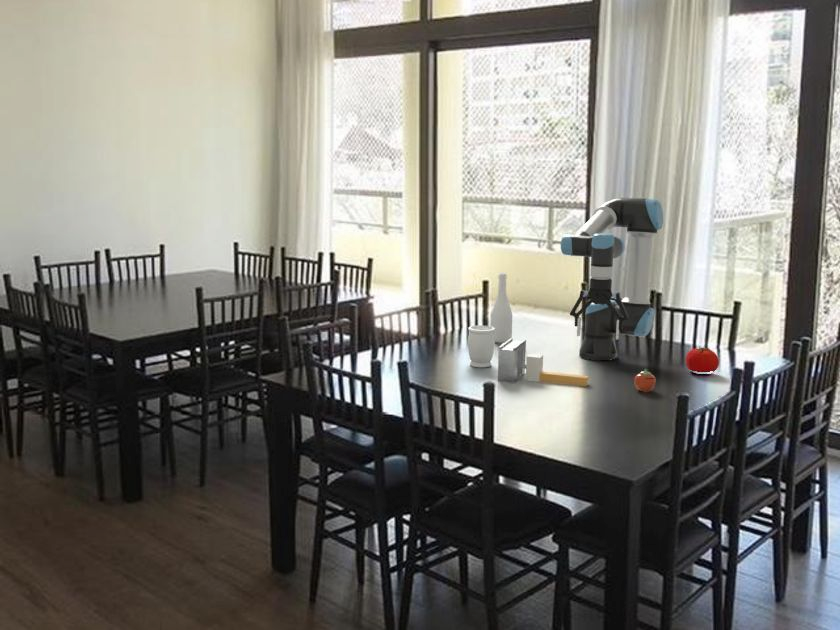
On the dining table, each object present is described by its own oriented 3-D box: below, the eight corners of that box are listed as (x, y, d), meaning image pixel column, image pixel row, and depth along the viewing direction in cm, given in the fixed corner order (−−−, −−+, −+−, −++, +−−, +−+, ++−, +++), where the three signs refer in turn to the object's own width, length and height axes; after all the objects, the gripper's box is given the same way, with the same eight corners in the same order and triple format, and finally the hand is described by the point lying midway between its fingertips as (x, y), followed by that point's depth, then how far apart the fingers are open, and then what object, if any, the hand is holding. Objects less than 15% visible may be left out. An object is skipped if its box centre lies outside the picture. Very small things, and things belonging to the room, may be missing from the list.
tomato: (692, 368, 340) (694, 342, 338) (723, 374, 331) (725, 348, 329) (677, 373, 332) (679, 346, 331) (708, 379, 324) (710, 352, 322)
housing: (524, 372, 330) (526, 339, 328) (513, 383, 316) (514, 348, 313) (509, 371, 332) (510, 338, 330) (497, 381, 318) (498, 346, 315)
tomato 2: (642, 394, 303) (643, 372, 301) (629, 389, 309) (630, 367, 308) (659, 392, 306) (661, 370, 304) (646, 387, 312) (647, 365, 311)
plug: (588, 383, 316) (589, 359, 315) (585, 386, 312) (587, 362, 310) (523, 376, 325) (524, 353, 323) (520, 379, 320) (521, 355, 319)
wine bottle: (512, 343, 379) (514, 275, 374) (490, 343, 379) (492, 274, 374) (510, 338, 389) (512, 272, 383) (489, 338, 389) (491, 271, 383)
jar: (492, 369, 334) (493, 331, 332) (465, 367, 336) (466, 329, 334) (495, 363, 345) (496, 325, 342) (469, 361, 347) (470, 324, 344)
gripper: (638, 278, 306) (634, 338, 310) (567, 274, 314) (564, 332, 318) (636, 281, 299) (632, 342, 303) (563, 276, 307) (560, 336, 311)
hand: (597, 337), depth 310 cm, fingers open, 13 cm apart
